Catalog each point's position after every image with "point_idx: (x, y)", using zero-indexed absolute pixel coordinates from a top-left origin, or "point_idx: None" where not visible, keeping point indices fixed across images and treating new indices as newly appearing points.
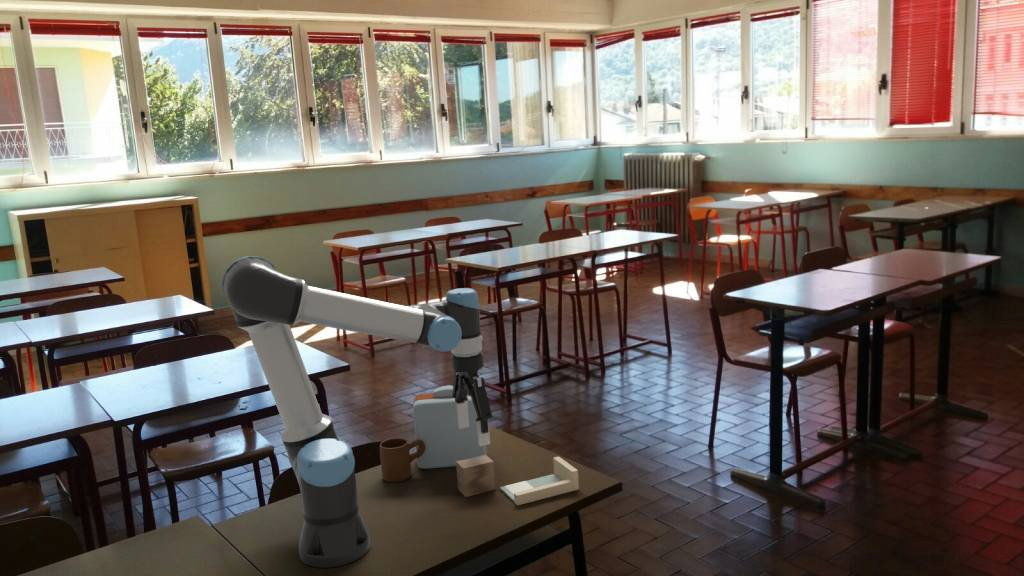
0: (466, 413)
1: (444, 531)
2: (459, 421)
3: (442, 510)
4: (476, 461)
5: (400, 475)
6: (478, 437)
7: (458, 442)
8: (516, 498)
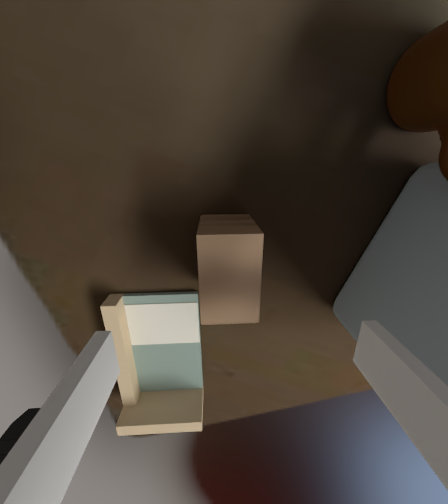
0: (406, 421)
1: (32, 96)
2: (388, 351)
3: (155, 136)
4: (227, 286)
5: (399, 79)
6: (82, 364)
7: (404, 288)
8: (105, 302)
